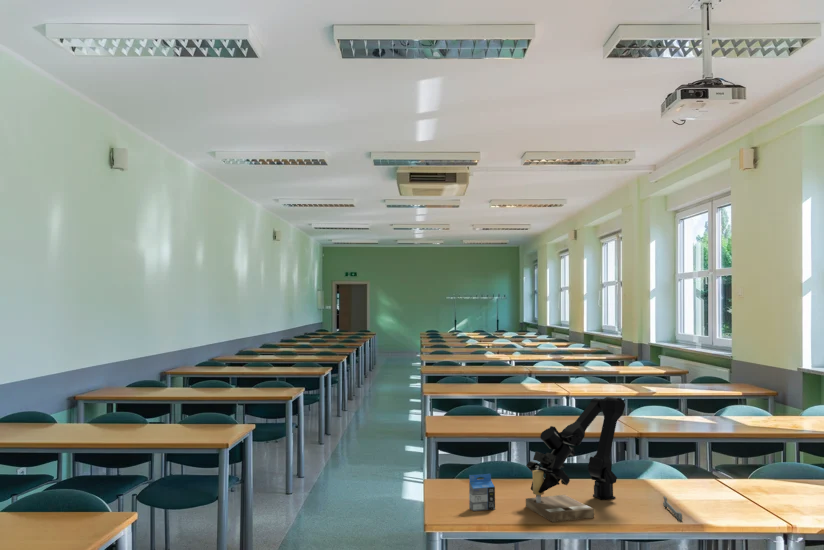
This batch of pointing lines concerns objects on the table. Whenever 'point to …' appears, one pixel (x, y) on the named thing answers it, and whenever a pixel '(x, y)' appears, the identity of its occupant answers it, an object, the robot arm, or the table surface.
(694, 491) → the table surface
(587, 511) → the subfloor panel
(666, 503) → the combination wrench
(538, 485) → the tan handled tool
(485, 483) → the ink cartridge box
